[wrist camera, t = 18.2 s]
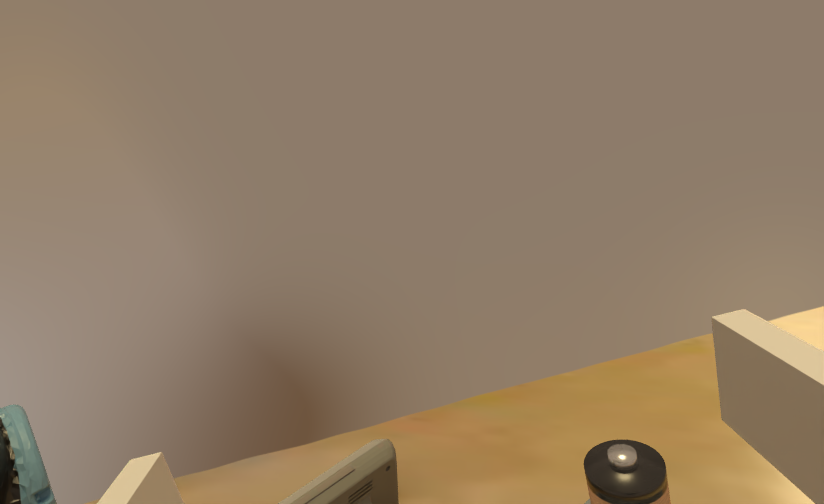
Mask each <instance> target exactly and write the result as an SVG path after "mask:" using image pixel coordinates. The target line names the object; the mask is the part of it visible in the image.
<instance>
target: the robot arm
mask: <svg viewBox="0 0 824 504" xmlns="http://www.w3.org/2000/svg"><path fill="white" fill-rule="evenodd" d="M711 318H712V328H713V338H714V348H715V358H716V368H717V378H718V387H719V397H720V407H721V417H722V420H723V421H724V422H725V423H726V424H727V425H728V426H729V427H731V428H732V429H733V430H734V431H735V432H736V433H737V434H738V435H740V436H741V437H742V438H743V439H744V440H745V441H746V442H747V443H748V444H750V445H751V446H752V447H753V448H754V449H755V450H756V451H757V452H758V453H760V454H761V455H762V456H763V457H764V458H765V459H766V460H767V461H769V462H770V463H771V464H772V465H773V466H774V467H775V468H776V469H777V470H779V471H780V472H781V473H782V474H783V475H784V476H785V477H786V478H788V479H789V480H790V481H791V482H792V483H793V484H794V485H795V486H796V487H798V488H799V489H800V490H801V491H802V492H803V493H804V494H805V495H807V496H808V497H809V498H810V499H811V500H812V501H813V502H814V503H815V504H824V351H822V350H821V349H819V348H817V347H815V346H813V345H811V344H809V343H807V342H805V341H804V340H802V339H800V338H798V337H796V336H794V335H792V334H790V333H788V332H787V331H785V330H783V329H781V328H779V327H777V326H775V325H773V324H771V323H770V322H768V321H766V320H764V319H762V318H760V317H758V316H756V315H754V314H753V313H751V312H749V311H747V310H745V309H742V310H738V311H734V312H730V313H726V314H722V315H718V316H713V317H711ZM0 504H57V503H56V500H55V498H54V495H53V492H52V489H51V486H50V482H49V479H48V477H47V473H46V470H45V467H44V464H43V461H42V458H41V455H40V452H39V449H38V446H37V444H36V440H35V437H34V435H33V432H32V429H31V427H30V423H29V421H28V417H27V415H26V412H25V411H24V409H23V408H22V407H21V406H19V405H9V406H6V407H3V408H0ZM97 504H184V502H183V500H182V498H181V495H180V493H179V491H178V488H177V486H176V484H175V481H174V479H173V477H172V475H171V472H170V470H169V468H168V465H167V463H166V461H165V458H164V456H163V454H162V452H160V453H156V454H152V455H148V456H144V457H139V458H135V459H132V460H130V461H129V462H128V464H127V465H126V466H125V467H124V469H123V470H122V471H121V473H120V474H119V475H118V477H117V478H116V479H115V481H114V482H113V483H112V485H111V486H110V487H109V489H108V490H107V491H106V493H105V494H104V495H103V497H102V498H101V499H100V501H99V502H98V503H97Z"/></svg>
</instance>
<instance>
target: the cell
mask: <svg viewBox="0 0 824 504" xmlns="http://www.w3.org/2000/svg"><path fill="white" fill-rule="evenodd" d="M584 469H585V474H586V479H587V485H588V490H589V496H590V501H591V504H671V503H670V495H669V488H668V481H667V473H666V466H665V462H664V460H663V458H662V456H661V455H660V454H659V453H658V452H657V451H656V450H654V449H653V448H651V447H650V446H648V445H646V444H643V443H640V442H637V441H632V440H612V441H607V442H604V443H601V444H599V445H597V446H595V447H593V448H592V449H591V450H590V451H589V452H588V453H587V455H586V457H585V460H584Z"/></svg>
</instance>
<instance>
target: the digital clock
mask: <svg viewBox="0 0 824 504" xmlns="http://www.w3.org/2000/svg"><path fill="white" fill-rule="evenodd" d="M278 504H399V503H398V482H397V462H396V453H395V448H394V446H393V444H392V442H391V441H390V440H389V439H378V440H373V441H371V442H369V443H368V444H366V445H364V446H363V447H361V448H360V449H358V450H357V451H355V452H354V453H352V454H351V455H349V456H348V457H346V458H345V459H343V460H342V461H340V462H339V463H337V464H336V465H334V466H333V467H331V468H330V469H328V470H327V471H326V472H324V473H323V474H321V475H320V476H318V477H317V478H315V479H314V480H312V481H311V482H309V483H308V484H306V485H305V486H303V487H302V488H300V489H299V490H297V491H296V492H294V493H293V494H291V495H290V496H288V497H287V498H285V499H284V500H283V501H281V502H280V503H278Z"/></svg>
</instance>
